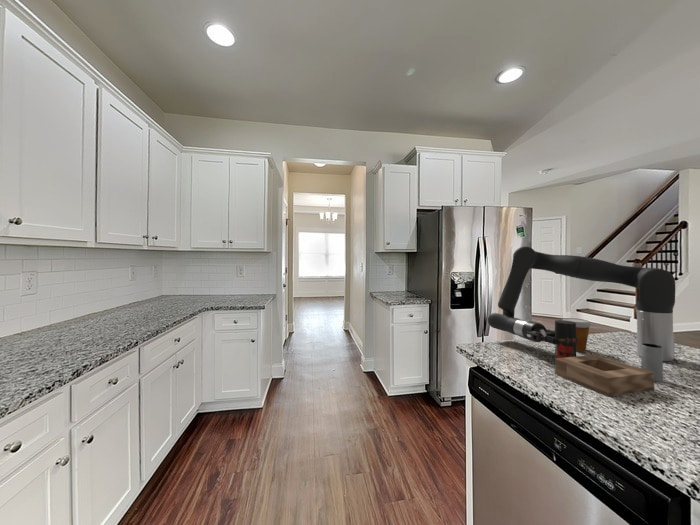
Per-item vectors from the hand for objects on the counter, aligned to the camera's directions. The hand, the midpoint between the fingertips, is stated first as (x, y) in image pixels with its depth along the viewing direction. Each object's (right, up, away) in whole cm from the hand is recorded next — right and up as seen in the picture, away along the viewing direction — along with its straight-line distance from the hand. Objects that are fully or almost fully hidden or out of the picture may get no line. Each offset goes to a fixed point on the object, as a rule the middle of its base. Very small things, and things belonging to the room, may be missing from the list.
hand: (566, 340), depth 100 cm
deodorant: (0, -9, +1) cm, 9 cm away
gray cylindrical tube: (+17, -8, -12) cm, 23 cm away
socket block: (0, -9, -14) cm, 16 cm away
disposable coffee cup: (+17, -8, +17) cm, 26 cm away
